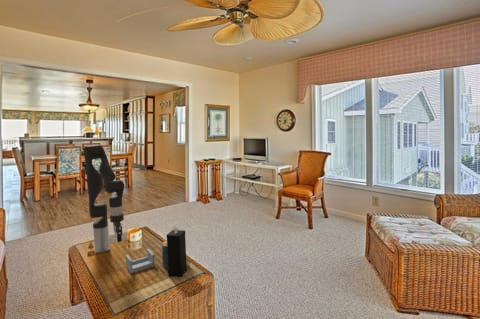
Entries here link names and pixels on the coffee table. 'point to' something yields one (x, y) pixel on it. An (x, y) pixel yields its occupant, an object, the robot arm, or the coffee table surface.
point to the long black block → (176, 253)
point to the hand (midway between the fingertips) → (118, 239)
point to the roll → (114, 237)
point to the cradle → (140, 262)
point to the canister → (165, 255)
